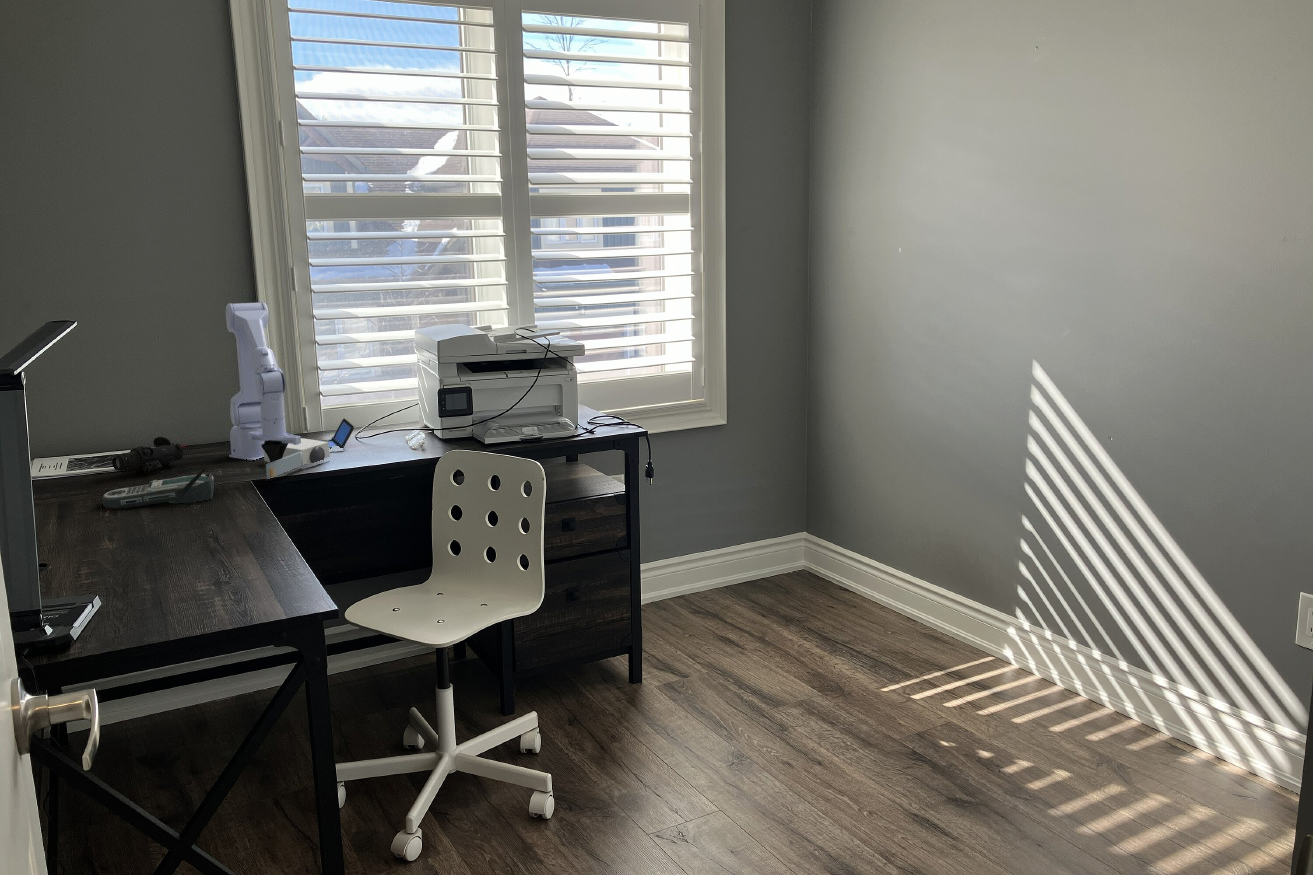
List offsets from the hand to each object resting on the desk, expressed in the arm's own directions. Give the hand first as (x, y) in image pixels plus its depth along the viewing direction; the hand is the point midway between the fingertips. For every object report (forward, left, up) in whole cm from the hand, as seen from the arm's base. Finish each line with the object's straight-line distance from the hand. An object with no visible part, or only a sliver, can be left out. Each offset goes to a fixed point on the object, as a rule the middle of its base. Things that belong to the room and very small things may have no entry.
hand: (276, 468), depth 255 cm
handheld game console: (-10, +31, -3) cm, 33 cm away
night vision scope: (-33, -11, -3) cm, 35 cm away
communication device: (-10, -28, -3) cm, 29 cm away
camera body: (-7, +14, -2) cm, 16 cm away
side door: (+2, +2, -2) cm, 3 cm away
